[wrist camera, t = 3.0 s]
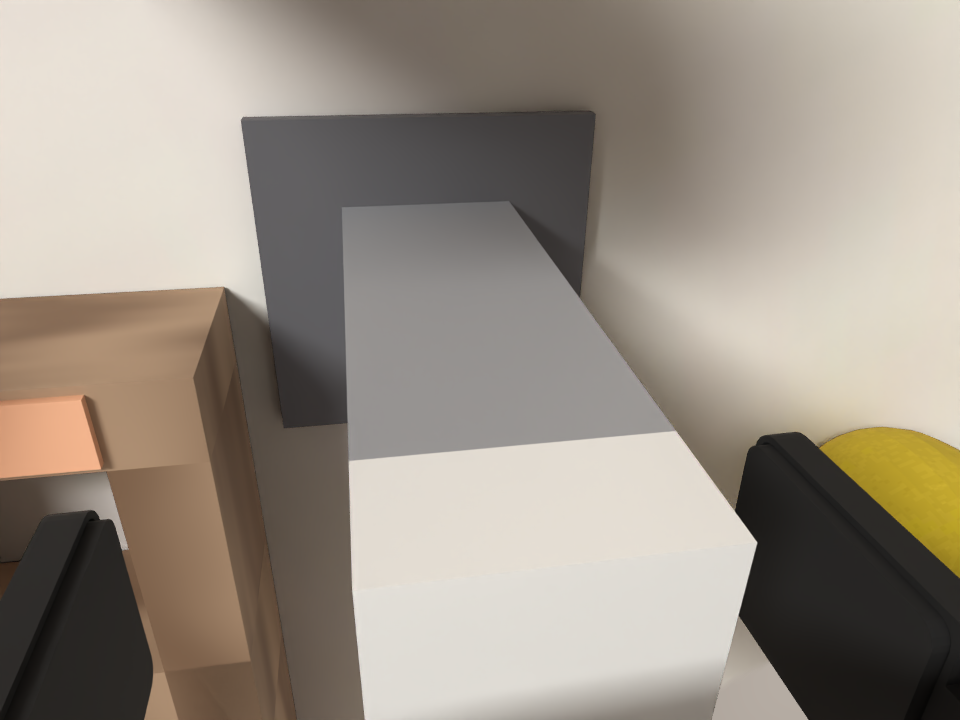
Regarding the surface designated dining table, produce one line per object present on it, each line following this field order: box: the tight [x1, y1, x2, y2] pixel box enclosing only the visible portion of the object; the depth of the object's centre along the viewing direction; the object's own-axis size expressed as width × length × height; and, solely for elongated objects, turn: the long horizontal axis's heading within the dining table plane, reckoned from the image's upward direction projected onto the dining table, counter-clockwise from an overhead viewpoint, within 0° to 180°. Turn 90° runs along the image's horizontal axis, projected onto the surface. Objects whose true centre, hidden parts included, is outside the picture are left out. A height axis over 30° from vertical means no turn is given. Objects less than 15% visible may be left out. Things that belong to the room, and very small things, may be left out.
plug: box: [342, 201, 757, 720], centre depth 13 cm, size 4×4×12 cm
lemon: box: [819, 427, 960, 578], centre depth 21 cm, size 6×6×8 cm
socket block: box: [0, 287, 297, 720], centre depth 20 cm, size 10×20×5 cm, turn 0°
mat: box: [241, 111, 596, 428], centre depth 18 cm, size 8×8×1 cm
